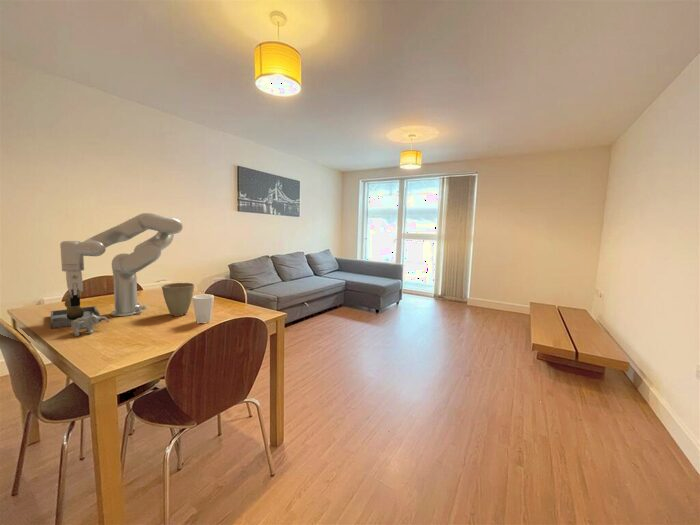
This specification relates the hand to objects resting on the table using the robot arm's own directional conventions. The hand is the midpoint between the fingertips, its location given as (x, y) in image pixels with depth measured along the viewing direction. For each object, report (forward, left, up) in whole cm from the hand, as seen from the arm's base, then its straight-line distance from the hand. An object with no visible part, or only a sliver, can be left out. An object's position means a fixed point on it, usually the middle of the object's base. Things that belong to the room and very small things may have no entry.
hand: (75, 305), depth 136 cm
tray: (+2, -4, -8) cm, 9 cm away
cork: (0, 0, -5) cm, 5 cm away
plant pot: (-42, -7, -8) cm, 43 cm away
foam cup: (-57, +8, -8) cm, 58 cm away
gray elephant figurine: (-13, +17, -8) cm, 23 cm away
